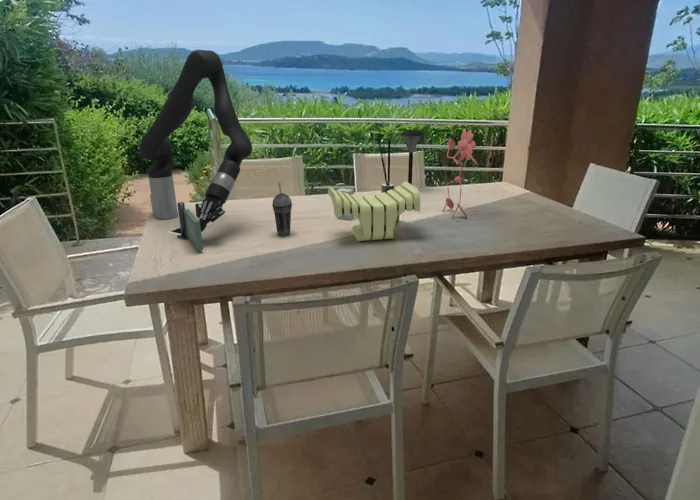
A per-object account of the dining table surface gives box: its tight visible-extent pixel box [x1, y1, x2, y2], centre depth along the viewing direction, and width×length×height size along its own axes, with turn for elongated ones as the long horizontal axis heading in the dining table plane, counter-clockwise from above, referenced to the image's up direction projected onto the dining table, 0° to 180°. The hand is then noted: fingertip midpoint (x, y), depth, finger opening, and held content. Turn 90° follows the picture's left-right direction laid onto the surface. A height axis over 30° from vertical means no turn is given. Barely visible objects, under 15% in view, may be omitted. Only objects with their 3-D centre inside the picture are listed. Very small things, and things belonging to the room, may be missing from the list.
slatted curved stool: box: [327, 180, 421, 242], centre depth 178 cm, size 30×16×18 cm, turn 103°
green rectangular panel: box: [184, 208, 204, 251], centre depth 170 cm, size 17×2×10 cm, turn 29°
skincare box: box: [336, 187, 355, 221], centre depth 199 cm, size 6×4×12 cm
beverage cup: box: [272, 182, 293, 237], centre depth 179 cm, size 7×7×20 cm
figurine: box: [441, 128, 479, 223], centre depth 200 cm, size 15×26×35 cm, turn 15°
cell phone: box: [166, 222, 213, 237], centre depth 190 cm, size 8×16×1 cm, turn 149°
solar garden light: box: [398, 129, 426, 186], centre depth 233 cm, size 12×12×30 cm
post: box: [176, 201, 189, 241], centre depth 178 cm, size 4×4×13 cm
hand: (199, 230), depth 169 cm, fingers closed
